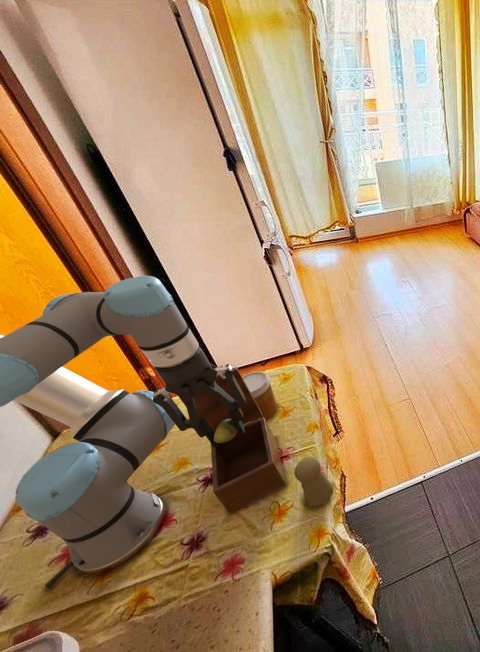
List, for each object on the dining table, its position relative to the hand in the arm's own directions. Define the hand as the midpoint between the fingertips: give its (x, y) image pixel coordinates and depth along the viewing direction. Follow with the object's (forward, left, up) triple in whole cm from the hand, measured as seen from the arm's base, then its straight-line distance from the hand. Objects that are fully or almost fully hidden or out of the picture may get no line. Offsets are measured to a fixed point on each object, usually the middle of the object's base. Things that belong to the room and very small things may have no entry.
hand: (229, 436), depth 80 cm
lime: (0, 0, 0) cm, 1 cm away
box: (0, +1, -15) cm, 15 cm away
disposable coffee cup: (+5, +20, -16) cm, 26 cm away
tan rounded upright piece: (+12, -14, -16) cm, 24 cm away
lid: (0, +8, +2) cm, 8 cm away
